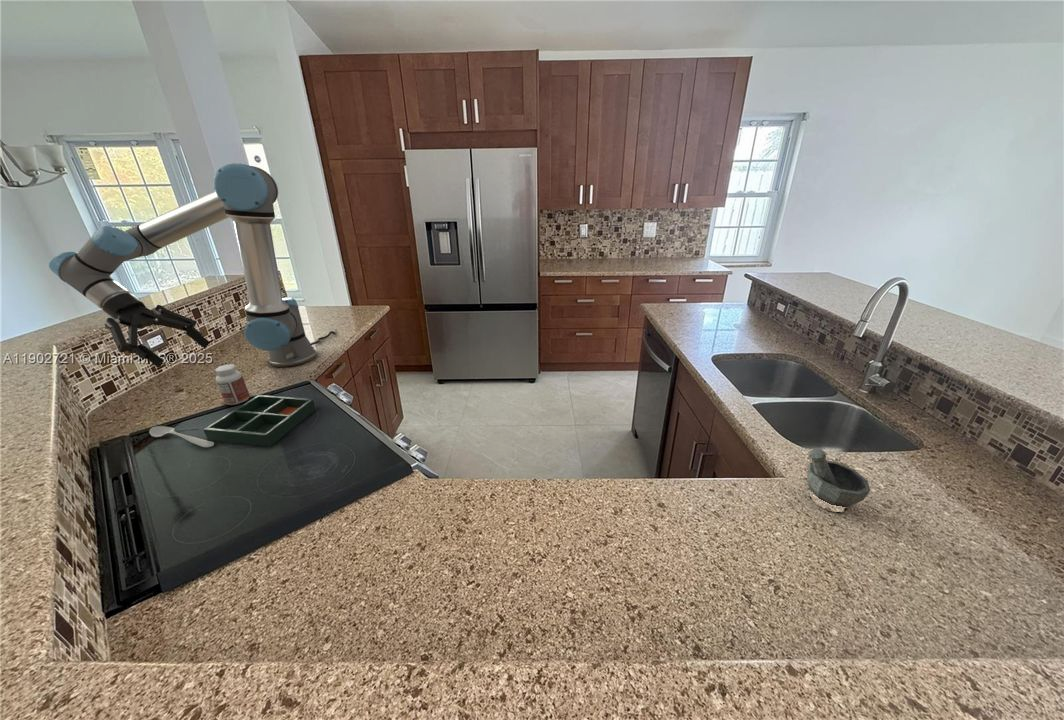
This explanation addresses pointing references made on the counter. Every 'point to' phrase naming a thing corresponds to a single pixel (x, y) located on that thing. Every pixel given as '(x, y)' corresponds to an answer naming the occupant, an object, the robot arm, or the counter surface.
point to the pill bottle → (231, 385)
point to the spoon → (163, 430)
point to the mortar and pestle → (835, 481)
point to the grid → (260, 420)
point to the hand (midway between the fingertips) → (185, 354)
